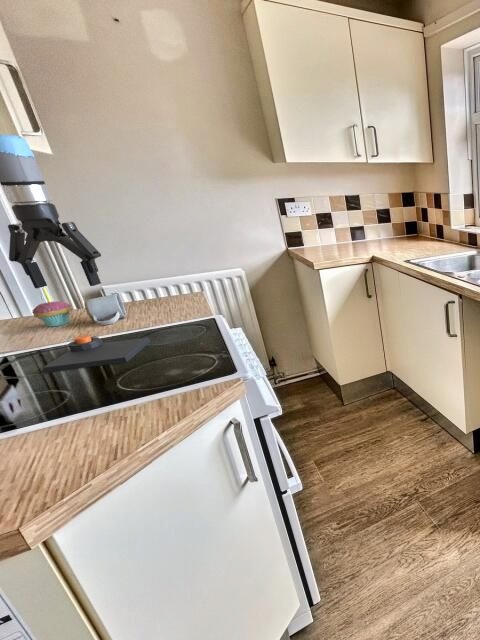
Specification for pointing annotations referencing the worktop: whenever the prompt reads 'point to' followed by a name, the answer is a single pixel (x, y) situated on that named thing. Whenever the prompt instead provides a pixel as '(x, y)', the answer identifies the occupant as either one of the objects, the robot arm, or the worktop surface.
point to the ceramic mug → (105, 309)
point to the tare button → (82, 339)
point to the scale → (97, 354)
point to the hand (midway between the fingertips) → (68, 286)
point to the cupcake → (53, 312)
